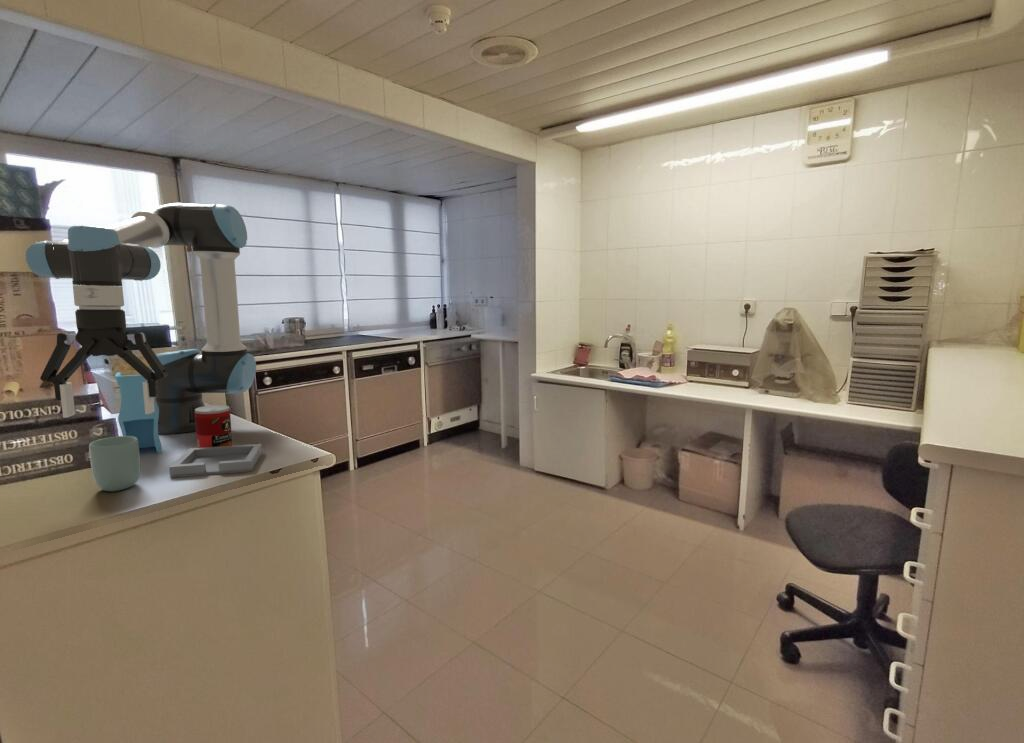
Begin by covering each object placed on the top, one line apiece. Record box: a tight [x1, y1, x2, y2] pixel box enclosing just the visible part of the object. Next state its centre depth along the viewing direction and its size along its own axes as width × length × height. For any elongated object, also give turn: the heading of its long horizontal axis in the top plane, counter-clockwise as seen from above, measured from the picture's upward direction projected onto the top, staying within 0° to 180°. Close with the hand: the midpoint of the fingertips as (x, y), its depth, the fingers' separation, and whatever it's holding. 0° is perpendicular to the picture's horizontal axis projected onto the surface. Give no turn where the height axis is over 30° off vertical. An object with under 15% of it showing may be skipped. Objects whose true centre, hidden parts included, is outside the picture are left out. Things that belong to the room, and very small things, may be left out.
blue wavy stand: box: [114, 371, 163, 454], centre depth 125 cm, size 8×8×20 cm
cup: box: [88, 435, 141, 492], centre depth 102 cm, size 8×8×10 cm
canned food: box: [195, 404, 233, 448], centre depth 128 cm, size 8×8×11 cm
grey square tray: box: [169, 443, 263, 478], centre depth 117 cm, size 14×16×2 cm
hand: (110, 414), depth 100 cm, fingers open, 13 cm apart
